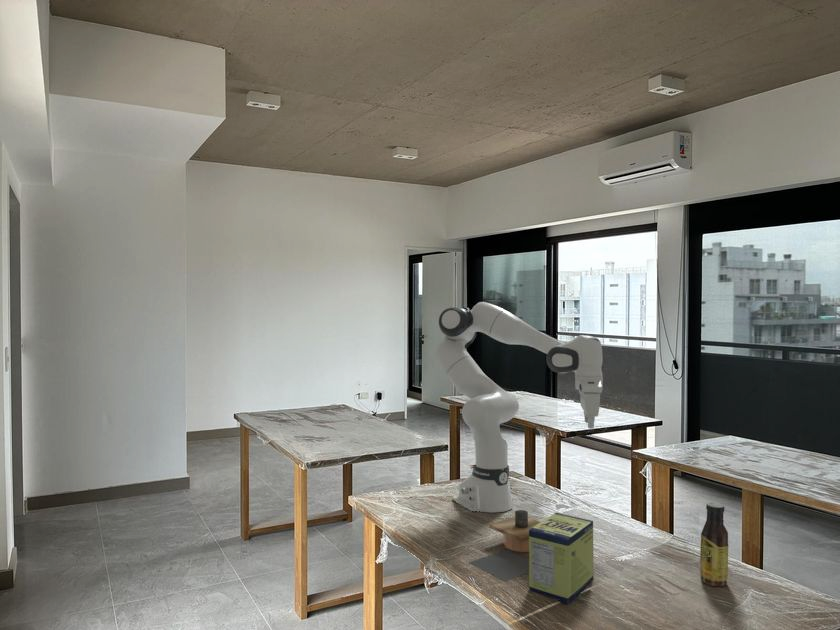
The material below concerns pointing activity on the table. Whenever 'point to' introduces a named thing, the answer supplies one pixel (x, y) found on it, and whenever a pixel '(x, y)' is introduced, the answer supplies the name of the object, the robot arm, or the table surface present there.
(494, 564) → the mat
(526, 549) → the bowl
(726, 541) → the sauce bottle
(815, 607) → the table surface
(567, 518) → the protein box
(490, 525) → the lid
